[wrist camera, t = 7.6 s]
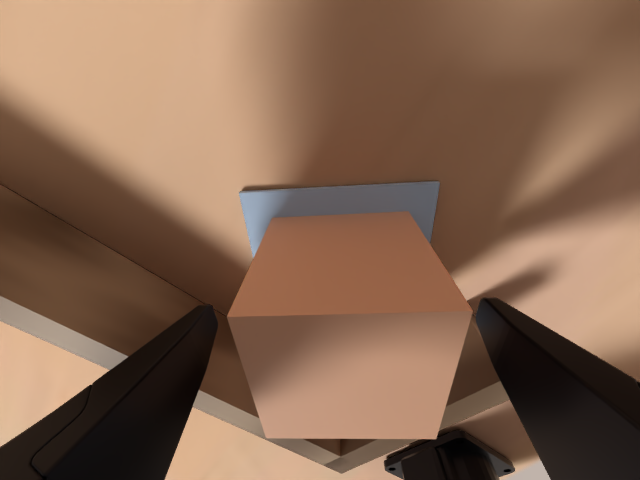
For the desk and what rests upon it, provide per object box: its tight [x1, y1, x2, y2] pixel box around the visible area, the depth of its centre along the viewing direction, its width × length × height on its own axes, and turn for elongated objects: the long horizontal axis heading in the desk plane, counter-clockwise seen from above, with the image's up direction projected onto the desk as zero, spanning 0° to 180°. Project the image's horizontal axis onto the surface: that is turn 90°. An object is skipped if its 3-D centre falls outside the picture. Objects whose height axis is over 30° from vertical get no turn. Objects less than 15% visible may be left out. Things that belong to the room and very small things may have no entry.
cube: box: [227, 211, 473, 439], centre depth 9 cm, size 5×5×5 cm
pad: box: [239, 181, 440, 258], centre depth 11 cm, size 7×7×1 cm
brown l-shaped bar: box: [0, 184, 510, 474], centre depth 10 cm, size 20×9×4 cm, turn 49°
